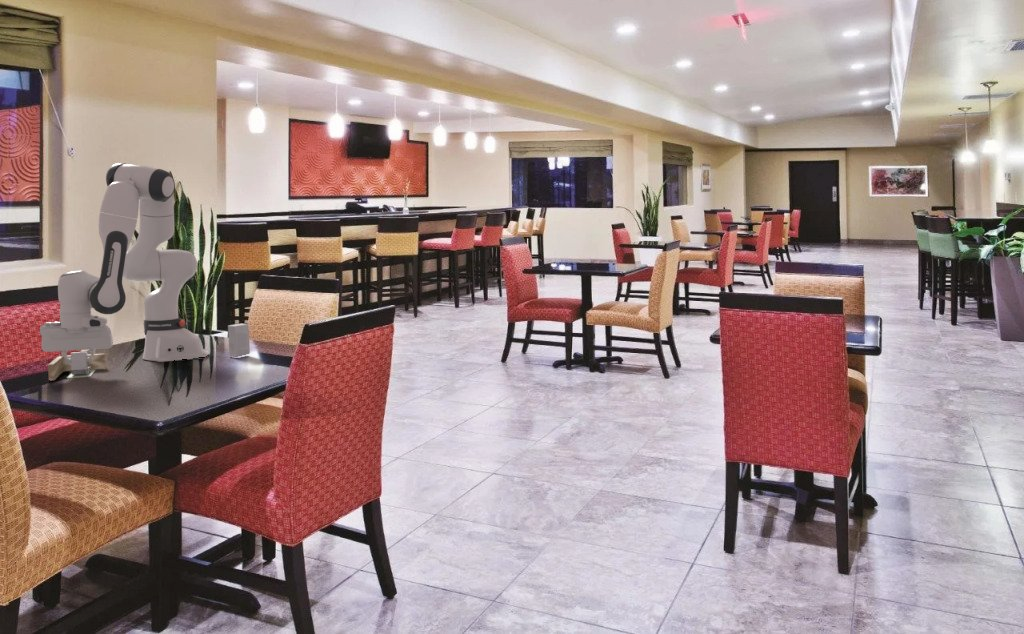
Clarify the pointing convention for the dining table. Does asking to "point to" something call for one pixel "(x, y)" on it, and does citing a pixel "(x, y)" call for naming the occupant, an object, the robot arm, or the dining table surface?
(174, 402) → the dining table surface
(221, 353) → the dining table surface
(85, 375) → the pad
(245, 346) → the skincare box
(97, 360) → the tan bent bar
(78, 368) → the bracket
